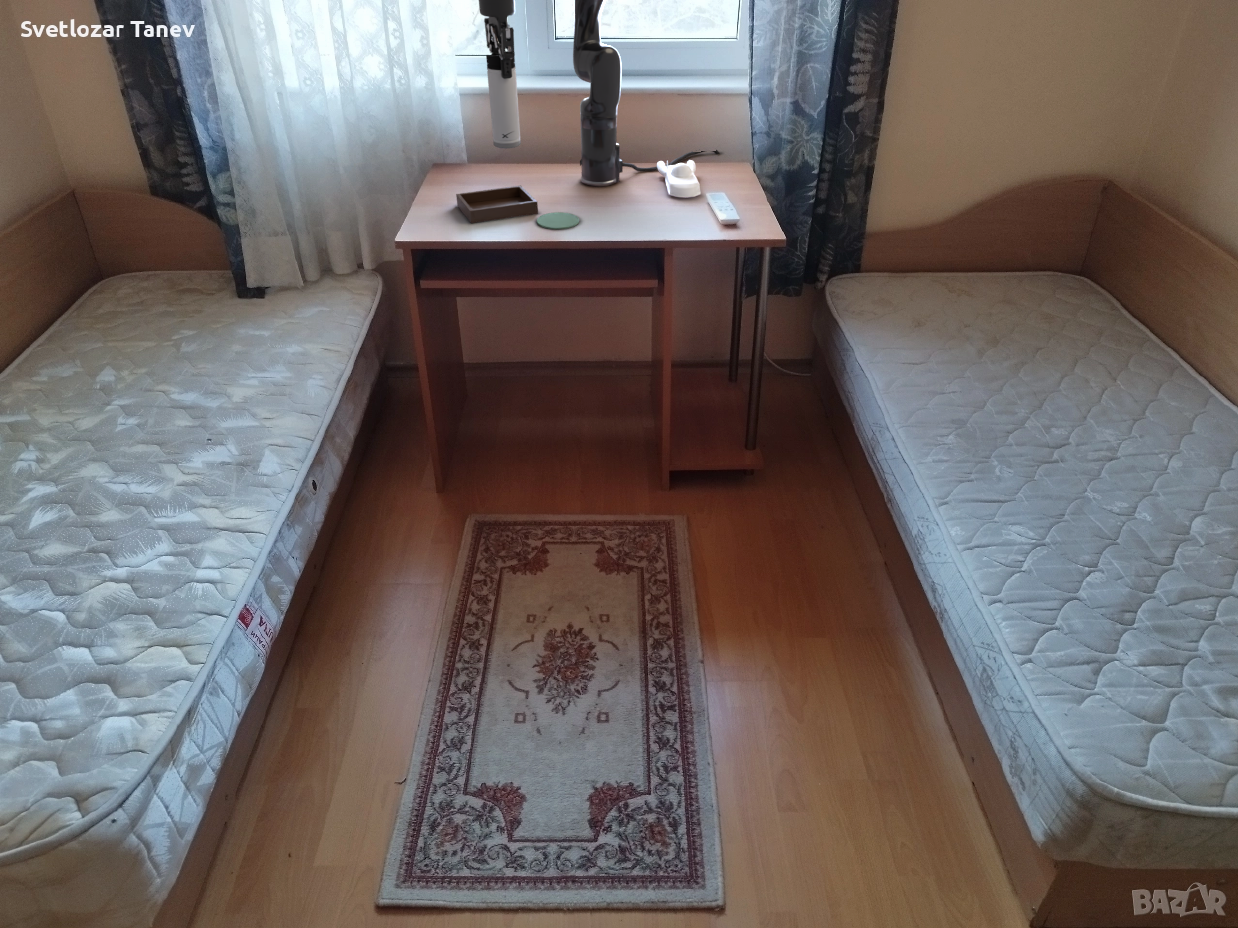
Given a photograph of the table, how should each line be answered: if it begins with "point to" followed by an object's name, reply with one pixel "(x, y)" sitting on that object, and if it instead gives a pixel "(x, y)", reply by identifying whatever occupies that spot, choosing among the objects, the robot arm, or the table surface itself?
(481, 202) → the tray
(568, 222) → the coaster
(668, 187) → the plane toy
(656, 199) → the table surface
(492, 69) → the travel mug
